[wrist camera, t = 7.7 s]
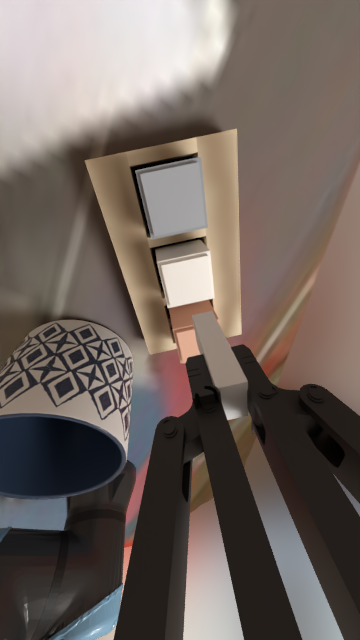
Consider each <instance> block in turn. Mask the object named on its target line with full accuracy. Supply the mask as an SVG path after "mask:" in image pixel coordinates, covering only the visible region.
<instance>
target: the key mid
mask: <svg viewBox="0 0 360 640" xmlns="http://www.w3.org/2000/svg"><path fill="white" fill-rule="evenodd" d="M155 252H156V259H157V265H158V269H159V273H160V277H161V281H162V286H163V290H164V294H165V298H166V302H167V307H168V308H172V307H176V306H181V305H185V304H190V303H195V302H199V301H204V300H208V299H213V298H215V296H214V285H213V275H212V264H211V254H210V250H209V249H208V248H207V247H206V245H205V244H204V243H203V242H202V241H201V240H200V239H199V240H194V241H190V242H185V243H180V244H176V245H171V246H166V247H162V248H157V249H155Z"/></svg>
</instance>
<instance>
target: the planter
mask: <svg viewBox="0 0 360 640" xmlns="http://www.w3.org/2000/svg"><path fill="white" fill-rule="evenodd" d="M132 380H133V357H132V354H131V352H130V350H129V348H128V346H127V345H126V344H125V342H124V341H123V340H122V339H121V338H120V337H119V336H118V335H116V334H115V333H113V332H112V331H110V330H109V329H107V328H105V327H102V326H100V325H97V324H94V323H91V322H87V321H82V320H59V321H53V322H49V323H46V324H43V325H41V326H39V327H37V328H35V329H34V330H33V331H31V332H30V333H29V334H28V335H27V336H26V337H25V338H24V339H23V341H22V342H21V343H20V344H19V346H18V347H17V348H16V349H15V351H14V352H13V353H12V355H11V356H10V357H9V358H8V360H7V361H6V362H5V364H4V365H3V366H2V367H1V369H0V496H5V497H11V498H20V499H55V498H64V497H70V496H75V495H80V494H83V493H87V492H90V491H93V490H95V489H98V488H100V487H102V486H104V485H106V484H108V483H109V482H111V481H112V480H114V479H115V478H116V477H117V476H118V475H119V474H120V473H121V471H122V470H123V468H124V466H125V464H126V459H127V449H128V437H129V423H130V409H131V395H132Z"/></svg>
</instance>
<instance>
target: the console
mask: <svg viewBox="0 0 360 640" xmlns="http://www.w3.org/2000/svg"><path fill="white" fill-rule="evenodd" d="M187 156H192V158H197V157H201V160H202V171H203V181H204V191H205V202H206V212H207V223H208V228H204V229H199V230H194V231H190V232H185V233H180V234H176V235H171V236H166V237H162V238H157V239H151V235H150V232H147V230H146V226H145V222H144V217H143V213H142V209H141V205H140V201H139V197H138V193H137V189H136V185H135V181H134V177H133V172H132V168H134V167H139V166H144V165H149V164H154V163H158V162H163V161H168V160H173V159H178V158H182V157H187ZM85 163H86V166H87V169H88V172H89V175H90V178H91V181H92V184H93V187H94V190H95V193H96V196H97V199H98V202H99V205H100V208H101V211H102V214H103V217H104V220H105V223H106V226H107V229H108V232H109V235H110V238H111V240H112V243H113V246H114V249H115V252H116V255H117V258H118V261H119V264H120V267H121V270H122V273H123V276H124V279H125V282H126V285H127V288H128V291H129V294H130V297H131V300H132V303H133V306H134V309H135V312H136V315H137V318H138V321H139V324H140V326H141V329H142V332H143V335H144V338H145V341H146V344H147V347H148V350H149V353H150V354H155V353H159V352H164V351H168V350H173V349H177V346H176V342H175V337H174V333H173V331H171V328H170V324H169V320H168V316H167V312H166V307H165V306H166V305H167V302H166V298H165V294H164V290H163V288H161V287H160V283H159V279H158V275H157V271H156V267H155V262H154V258H153V254H152V250H151V248H152V247H157V246H161V245H166V244H171V243H175V242H180V241H185V240H189V239H194V238H199V237H201V241H202V242H203V243H204V244H205V245H206V247H207V248H208V249H209V250H210V254H211V264H212V275H213V285H214V296H215V298H213V299H209V301H210V303H211V305H212V307H213V309H214V311H215V313H216V314H217V316H218V318H219V325H220V327H221V329H222V331H223V333H224V335H225V337H226V338H227V337H232V336H236V335H241V292H240V246H239V201H238V155H237V129H234V130H229V131H224V132H219V133H215V134H210V135H205V136H200V137H195V138H190V139H186V140H181V141H176V142H171V143H166V144H161V145H157V146H152V147H147V148H142V149H137V150H132V151H128V152H123V153H118V154H113V155H108V156H103V157H99V158H94V159H89V160H85Z"/></svg>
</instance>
